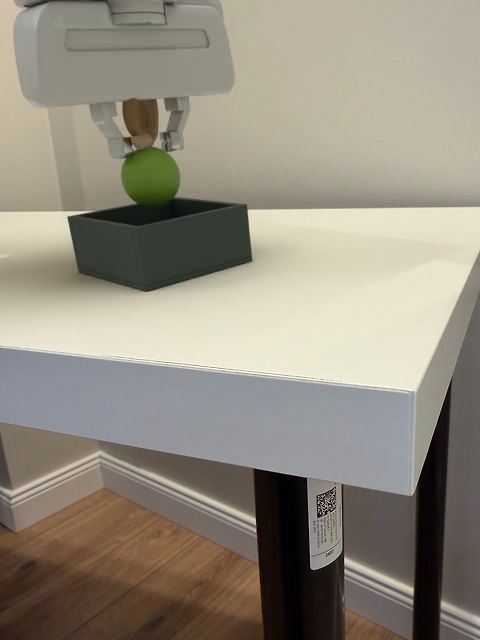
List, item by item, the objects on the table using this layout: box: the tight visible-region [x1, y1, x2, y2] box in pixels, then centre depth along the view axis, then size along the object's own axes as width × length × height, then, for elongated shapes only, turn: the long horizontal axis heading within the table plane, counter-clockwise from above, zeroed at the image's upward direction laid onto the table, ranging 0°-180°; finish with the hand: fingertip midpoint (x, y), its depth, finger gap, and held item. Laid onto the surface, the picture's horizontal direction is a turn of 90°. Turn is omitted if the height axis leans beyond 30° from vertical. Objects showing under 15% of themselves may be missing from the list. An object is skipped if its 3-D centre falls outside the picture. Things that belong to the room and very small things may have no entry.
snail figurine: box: [120, 98, 181, 207], centre depth 60 cm, size 5×6×12 cm
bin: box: [66, 196, 253, 292], centre depth 64 cm, size 12×12×6 cm
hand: (148, 154), depth 61 cm, fingers closed on snail figurine, 4 cm apart
